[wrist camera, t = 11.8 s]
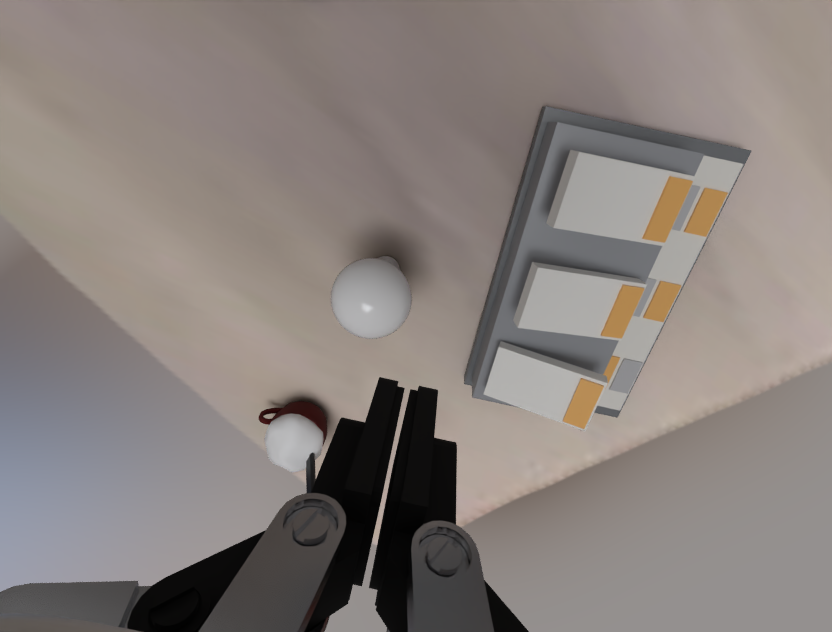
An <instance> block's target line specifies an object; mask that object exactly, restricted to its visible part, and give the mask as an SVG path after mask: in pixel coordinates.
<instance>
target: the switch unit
mask: <svg viewBox="0 0 832 632" xmlns="http://www.w3.org/2000/svg"><path fill="white" fill-rule="evenodd" d="M570 150H574V151H579V152H584V153H588V154H593V155H598V156H602V157H607V158H612V159H617V160H621V161H626V162H631V163H635V164H640V165H645V166H650V167H654V168H659V169H664V170H668V171H673V172H678V173H683V174H687V175H691V176H695V179H694V181H693V184H692V186H691V188H690V190H689V192H688V194H687V197H686V199H685V201H684V203H683V205H682V208H681V210H680V212H679V214H678V216H677V218H676V221H675V223H674V225H673V227H672V229H671V231H670V234H669V236H668V238H667V240H666V242H665V244H664V246H659V245H653V244H647V243H641V242H635V241H629V240H623V239H617V238H611V237H605V236H599V235H593V234H587V233H581V232H575V231H569V230H563V229H557V228H553V227H551V226H550V225H548V224H547V223H546V222H547V219H548V216H549V213H550V210H551V207H552V204H553V201H554V198H555V195H556V192H557V189H558V186H559V183H560V180H561V177H562V174H563V171H564V168H565V165H566V161H567V158H568V155H569V152H570ZM750 153H751V151H750V150H746V149H741V148H737V147H732V146H727V145H723V144H718V143H714V142H709V141H704V140H700V139H695V138H690V137H686V136H681V135H677V134H672V133H667V132H663V131H658V130H654V129H649V128H644V127H640V126H635V125H630V124H626V123H621V122H617V121H612V120H607V119H603V118H598V117H594V116H589V115H584V114H580V113H575V112H570V111H566V110H561V109H557V108H552V107H547V106H544V107H542V111H541V114H540V118H539V121H538V125H537V128H536V131H535V135H534V138H533V142H532V145H531V149H530V152H529V155H528V159H527V162H526V166H525V169H524V173H523V176H522V179H521V183H520V186H519V190H518V193H517V197H516V200H515V203H514V207H513V210H512V214H511V217H510V221H509V224H508V227H507V231H506V234H505V238H504V241H503V245H502V248H501V252H500V255H499V258H498V262H497V265H496V269H495V272H494V276H493V279H492V282H491V286H490V289H489V293H488V296H487V300H486V303H485V306H484V310H483V313H482V317H481V320H480V324H479V327H478V330H477V334H476V337H475V341H474V344H473V348H472V351H471V354H470V358H469V361H468V365H467V368H466V372H465V375H464V384H467V385H471V386H472V397H473V398H477V399H482V400H487V401H491V402H496V403H500V404H505V405H509V406H514V405H511V404H508V403H506V402H503V401H500V400H497V399H495V398H492V397H489V396H486V395H484V391H485V388H486V385H487V382H488V378H489V375H490V372H491V369H492V366H493V363H494V360H495V357H496V354H497V350H498V347H499V345H500V342H501V341H502V342H505V343H508V344H511V345H514V346H517V347H520V348H523V349H526V350H529V351H532V352H535V353H538V354H541V355H544V356H547V357H550V358H553V359H556V360H559V361H562V362H565V363H568V364H572V365H575V366H578V367H581V368H584V369H587V370H590V371H593V372H596V373H599V374H602V375H605V376H607V381H608V384H607V386H606V388H605V390H604V392H603V395H602V397H601V399H600V401H599V403H598V405H597V407H596V410H595V412H594V413H599V414H603V415H608V416H613V417H618V415H619V413H620V411H621V409H622V407H623V405H624V404H625V402H626V400H627V398H628V396H629V394H630V392H631V390H632V388H633V386H634V384H635V382H636V380H637V378H638V376H639V374H640V372H641V370H642V368H643V366H644V364H645V362H646V360H647V358H648V356H649V354H650V352H651V350H652V348H653V346H654V344H655V342H656V340H657V338H658V336H659V334H660V332H661V330H662V328H663V326H664V324H665V322H666V320H667V318H668V316H669V314H670V312H671V310H672V308H673V306H674V304H675V302H676V300H677V298H678V296H679V294H680V292H681V290H682V288H683V286H684V284H685V282H686V280H687V278H688V276H689V274H690V272H691V270H692V268H693V266H694V264H695V262H696V260H697V258H698V256H699V254H700V252H701V250H702V248H703V246H704V244H705V242H706V240H707V238H708V236H709V234H710V232H711V230H712V229H713V227H714V225H715V223H716V221H717V219H718V217H719V215H720V213H721V211H722V209H723V207H724V205H725V203H726V201H727V199H728V197H729V195H730V193H731V191H732V189H733V187H734V185H735V183H736V181H737V179H738V177H739V175H740V173H741V171H742V169H743V167H744V165H745V163H746V161H747V159H748V157H749V155H750ZM532 262H537V263H543V264H549V265H556V266H562V267H568V268H575V269H581V270H587V271H594V272H600V273H607V274H613V275H619V276H626V277H632V278H638V279H640V280H641V281H643V282H644V283H646V284H647V286H646V288H645V290H644V293H643V295H642V297H641V299H640V301H639V303H638V306H637V308H636V310H635V312H634V314H633V316H632V319H631V321H630V323H629V325H628V327H627V329H626V332H625V334H624V336H623V338H622V340H621V341H619V340H611V339H603V338H595V337H587V336H579V335H571V334H563V333H555V332H547V331H539V330H531V329H523V328H518V327H517V326H516V324H515V323H514V321H513V319H514V316H515V313H516V310H517V307H518V304H519V301H520V298H521V295H522V292H523V289H524V286H525V282H526V279H527V276H528V273H529V270H530V267H531V264H532ZM514 407H517V406H514ZM518 408H519V407H518Z"/></svg>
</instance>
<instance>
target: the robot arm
mask: <svg viewBox="0 0 832 632" xmlns="http://www.w3.org/2000/svg"><path fill="white" fill-rule="evenodd" d="M397 385H398V381H395V380H390V379H385V378H381V377H380V378H379V380H378V383H377V387H376V390H375V393H374V396H373V399H372V403H371V406H370V409H369V412H368V415H367V418H366V422H360V421H356V420H351V419H346V418H341V419H340V421H339V423H338V426H337V428H336V431H335V433H334V436H333V438H332V441H331V443H330V446H329V448H328V451H327V453H326V456H325V458H324V461H323V463H322V466H321V468H320V471H319V473H318V476H317V478H316V481H315V483H314V486H313V488H312V491H311V493H306V494H302V495H299V496H296V497H294V498H293V499H291V500H289V501H288V502H286V503H285V505H284V506H283V507H282V508H281V509H280V510H279V512H278V513H277V515H276V516H275V518H274V519H273V521H272V522H271V524H270V525H269V527H268V528H267V530H266V531H263V532H261V533H259V534H257V535H255V536H253V537H250V538H248V539H247V540H244V541H242V542H240V543H238V544H236V545H233V546H231V547H229V548H227V549H225V550H223V551H221V552H219V553H217V554H214V555H212V556H210V557H208V558H206V559H204V560H202V561H200V562H197V563H195V564H193V565H191V566H189V567H187V568H185V569H183V570H180V571H178V572H176V573H174V574H172V575H170V576H168V577H166V578H164V579H162V580H161V581H159V582H157V583H156V584H154V585H153V586H138V581H119V582H118V581H117V582H76V583H74V582H73V583H34V584H33V583H32V584H31V583H30V584H24V585H19V586H14V587H11V588H9V589H6V590H4V591H2V592H0V632H324V631H325V629H326V626H327V624H328V620H329V616H330V615H331V614H333V613H335V612H336V611H338V610H339V609H341V608H342V607H344V606H345V605H347V604H348V601H349V599H350V594H351V590H352V585H353V584H354V585H358V586H362V583H363V579H364V574H365V570H366V565H367V561H368V556H369V552H370V547H371V543H372V538H373V534H374V529H375V525H376V521H377V516H378V512H379V507H380V503H381V498H382V493H383V489H384V484H385V479H386V474H387V470H388V465H389V460H390V455H391V451H392V446H393V441H394V436H395V431H396V427H397V422H398V417H399V412H400V407H401V403H402V398H403V393H404V388H402V387H398V386H397ZM437 396H438V390H436V389H431V388H426V387H422V386H419V388H418V391H416V390H410V394H409V398H408V402H407V407H406V411H405V415H404V420H403V424H402V429H401V433H400V437H399V442H398V446H397V450H396V455H395V459H394V463H393V468H392V473H391V478H390V483H389V488H388V493H387V499H386V504H385V509H384V514H383V519H382V524H381V529H380V534H379V539H378V545H377V550H376V555H375V560H374V565H373V570H372V575H371V581H370V586H369V588H372V589H377V590H378V591H377V597H376V602H375V605H376V606H377V608H376V611H377V612H378V614H379V615H380V617H381V619H382V620H383V622H384V623H385V625H386V626H387V632H528V630H527V629H526V628H525V627H524V626H523V624H521V622H520V621H519V620H518V619H517V617H516V616H515V615H514V614H513V613H512V612H511V611H510V609H509V608H508V607H507V606H506V605H505V604H504V602H503V601H502V600H501V599H500V598H499V597H498V596H497V594H496V593H495V592H494V591H493V590H492V588H491V587H490V586H489V585H488V584H487V583H486V582H485V580H484V577H483V572H482V567H481V562H480V557H479V553H478V550H477V547H476V544H475V543H474V541H473V539H472V538H471V537H470V535H469V534H468V533H466V531H464V530H463V529H462V528H461V527H459V526H457V525H456V466H457V445H456V442H451V441H446V440H442V439H437V438H434V432H435V420H436V408H437Z"/></svg>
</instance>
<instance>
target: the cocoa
mask: <svg viewBox="0 0 832 632" xmlns="http://www.w3.org/2000/svg"><path fill="white" fill-rule="evenodd" d="M271 413H277V414H275V416H274V417H273V418H272V419H266V418H264V417H263V416H264V415H266V414H271ZM259 421H260V422H261V423H264V424H269V426H268V429H267V432H266V435H265V439H264V440H265V445H266V449H267V453H268V457H269V460H270V461H271V462H272V463H273V464H274V465H277V466H280V467H283V468H285V469H286V470H288V471H290V472H297V471H301V470H304V469H306V482H307V493H311V491H312V488H313V486H314V483H315V481H316V479H315V460H316V459H317V458H318V457H319V456H320V455H321V450H322V446H323V444H324V442H325V439H326V436H327V421H326V417H325V415H324V414H323V412H322V411H321V410H320V408H319V407H317V406H316V405H314V404H313V403H310V402H305V401H298V402H292V403H289V404H288V405H287V406H285V407H284V408H271V409H266V410H264V411H262V412H261V413H260V415H259Z"/></svg>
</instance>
